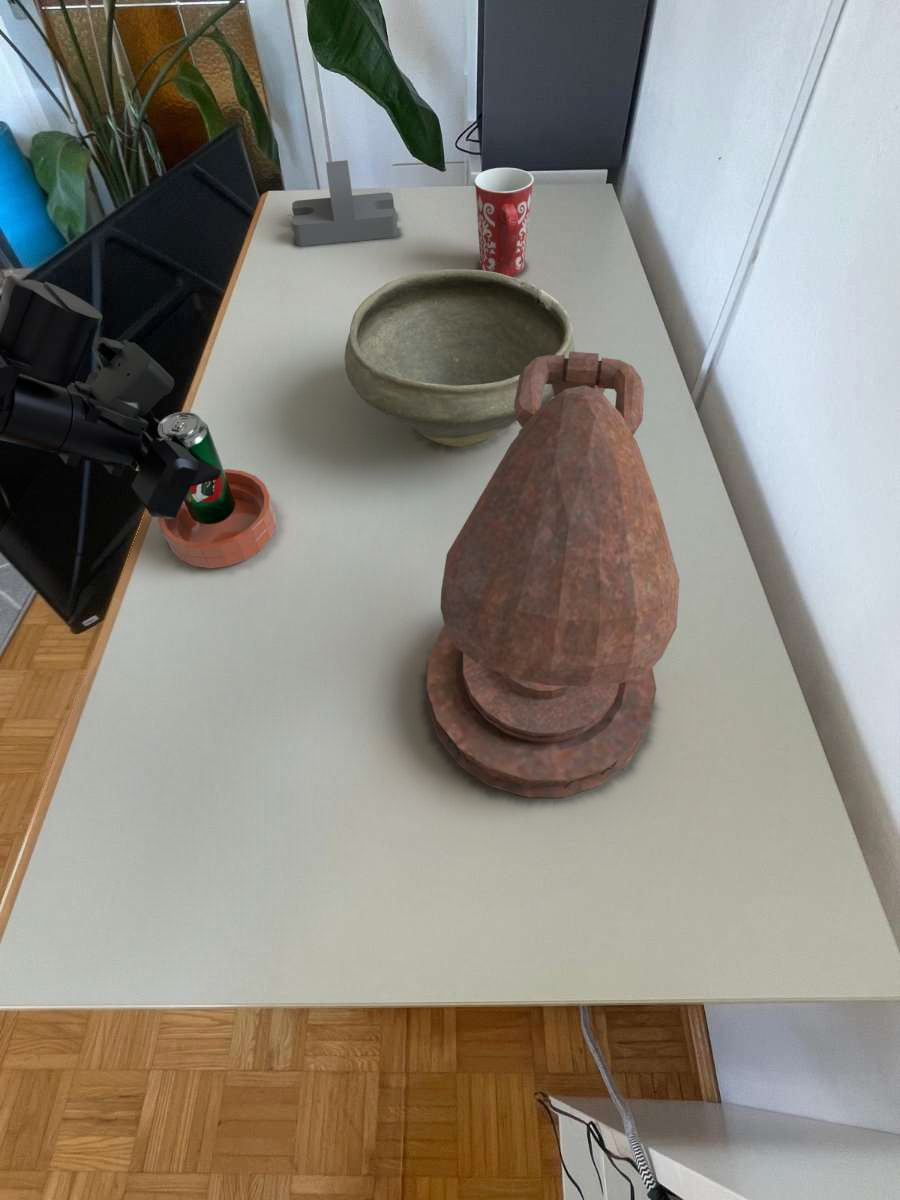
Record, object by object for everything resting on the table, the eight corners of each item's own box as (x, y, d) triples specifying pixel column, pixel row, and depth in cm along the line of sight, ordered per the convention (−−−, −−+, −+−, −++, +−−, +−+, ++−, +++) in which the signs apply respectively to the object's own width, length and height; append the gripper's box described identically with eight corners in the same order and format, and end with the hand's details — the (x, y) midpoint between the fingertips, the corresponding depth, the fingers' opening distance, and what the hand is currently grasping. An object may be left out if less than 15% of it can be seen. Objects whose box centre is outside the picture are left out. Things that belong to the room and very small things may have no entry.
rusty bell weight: (389, 861, 58) (283, 532, 26) (453, 567, 77) (438, 168, 45) (648, 904, 55) (885, 598, 23) (648, 589, 74) (779, 182, 42)
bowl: (475, 524, 80) (475, 427, 69) (312, 429, 92) (289, 331, 81) (607, 405, 93) (625, 306, 82) (449, 334, 104) (446, 238, 93)
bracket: (398, 237, 123) (392, 170, 115) (296, 246, 122) (282, 179, 113) (393, 212, 129) (387, 147, 120) (296, 221, 128) (283, 156, 119)
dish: (165, 577, 77) (151, 553, 74) (177, 500, 84) (165, 475, 81) (276, 564, 78) (267, 540, 75) (278, 488, 85) (270, 464, 82)
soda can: (244, 500, 79) (214, 414, 70) (223, 531, 76) (188, 445, 67) (205, 492, 80) (170, 405, 71) (182, 522, 77) (142, 436, 68)
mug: (471, 255, 118) (471, 168, 108) (524, 251, 119) (529, 164, 108) (479, 294, 111) (479, 205, 100) (535, 290, 111) (542, 200, 100)
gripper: (137, 386, 54) (289, 439, 67) (51, 292, 63) (199, 354, 76) (83, 506, 57) (237, 534, 70) (8, 400, 66) (157, 442, 79)
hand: (207, 461), depth 74 cm, fingers closed on soda can, 5 cm apart
